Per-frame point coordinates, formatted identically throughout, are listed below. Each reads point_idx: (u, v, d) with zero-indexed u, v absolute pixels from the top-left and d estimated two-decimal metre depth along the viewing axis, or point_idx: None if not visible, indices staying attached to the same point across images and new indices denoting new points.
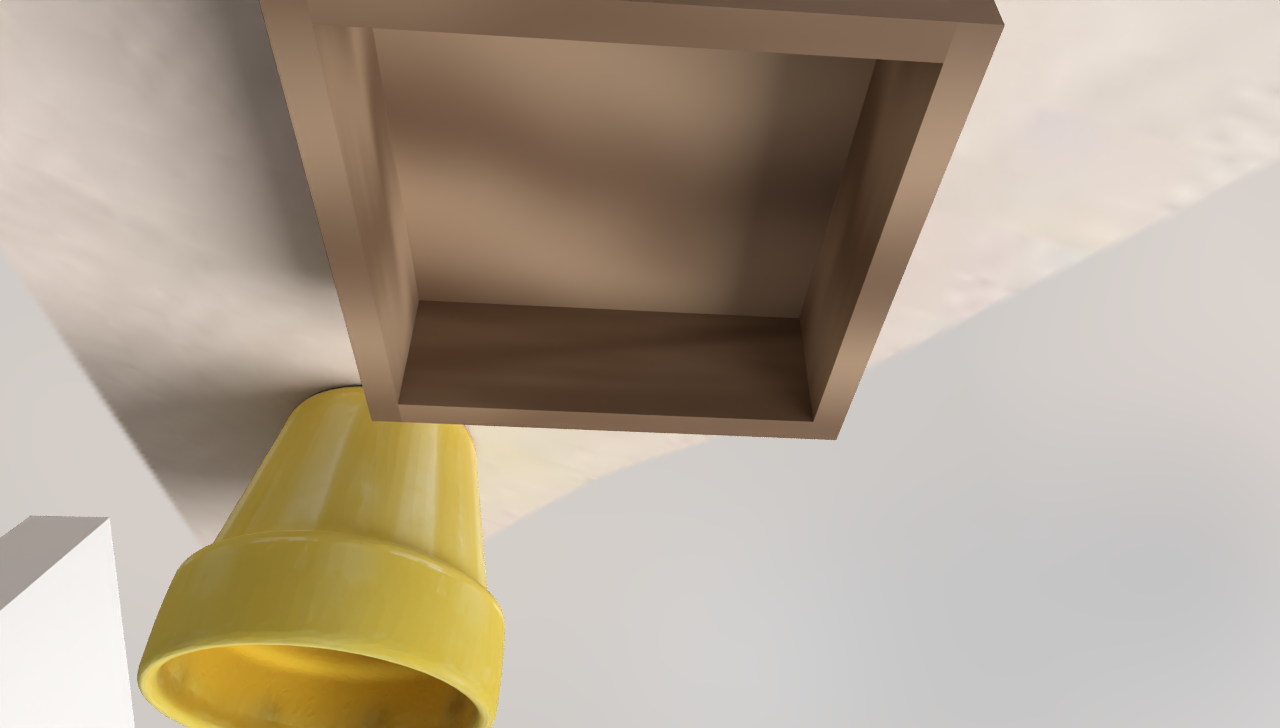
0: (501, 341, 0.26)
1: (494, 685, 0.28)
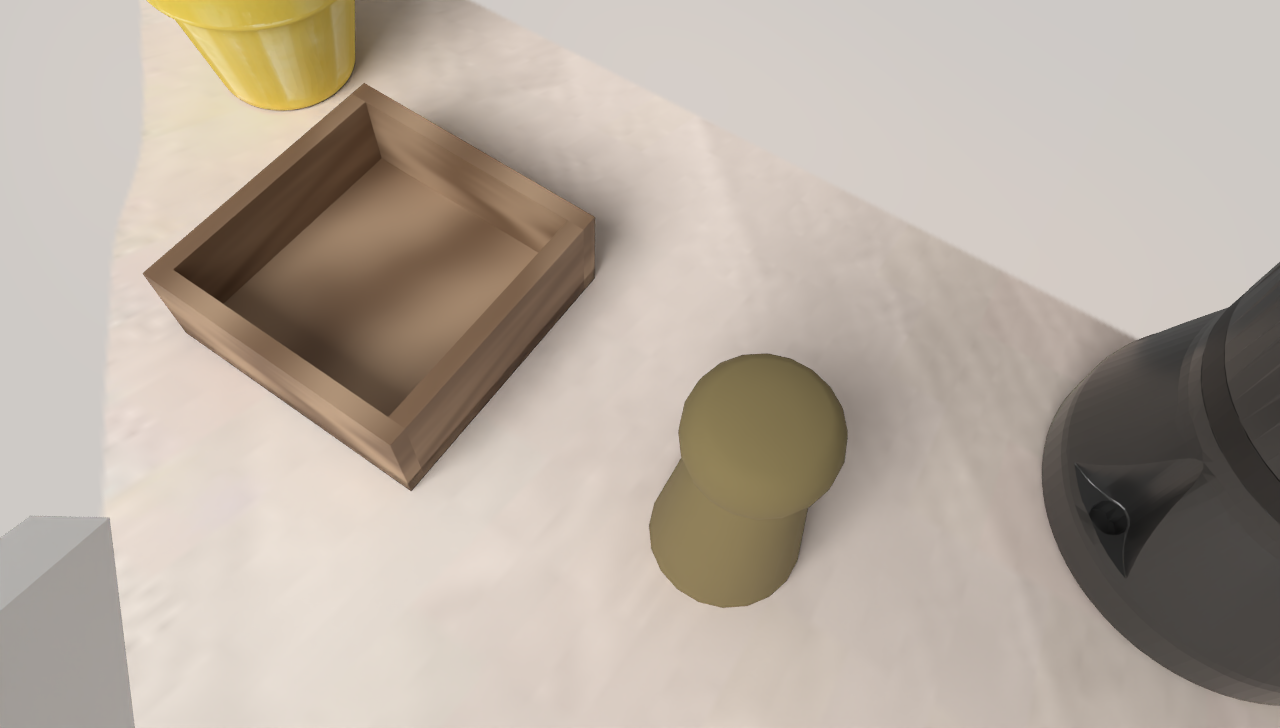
0: (338, 171, 0.42)
1: None
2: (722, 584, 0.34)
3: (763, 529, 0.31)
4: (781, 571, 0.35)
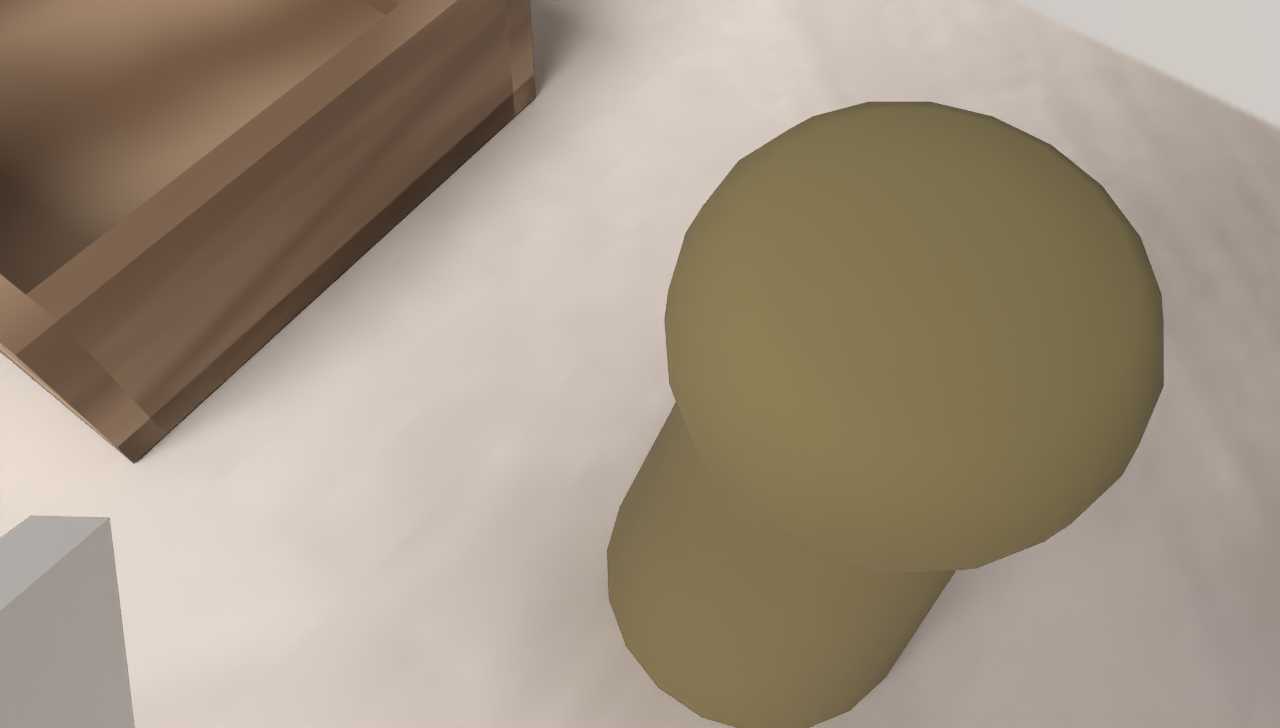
0: None
1: None
2: (756, 694, 0.15)
3: (879, 591, 0.12)
4: (885, 666, 0.16)
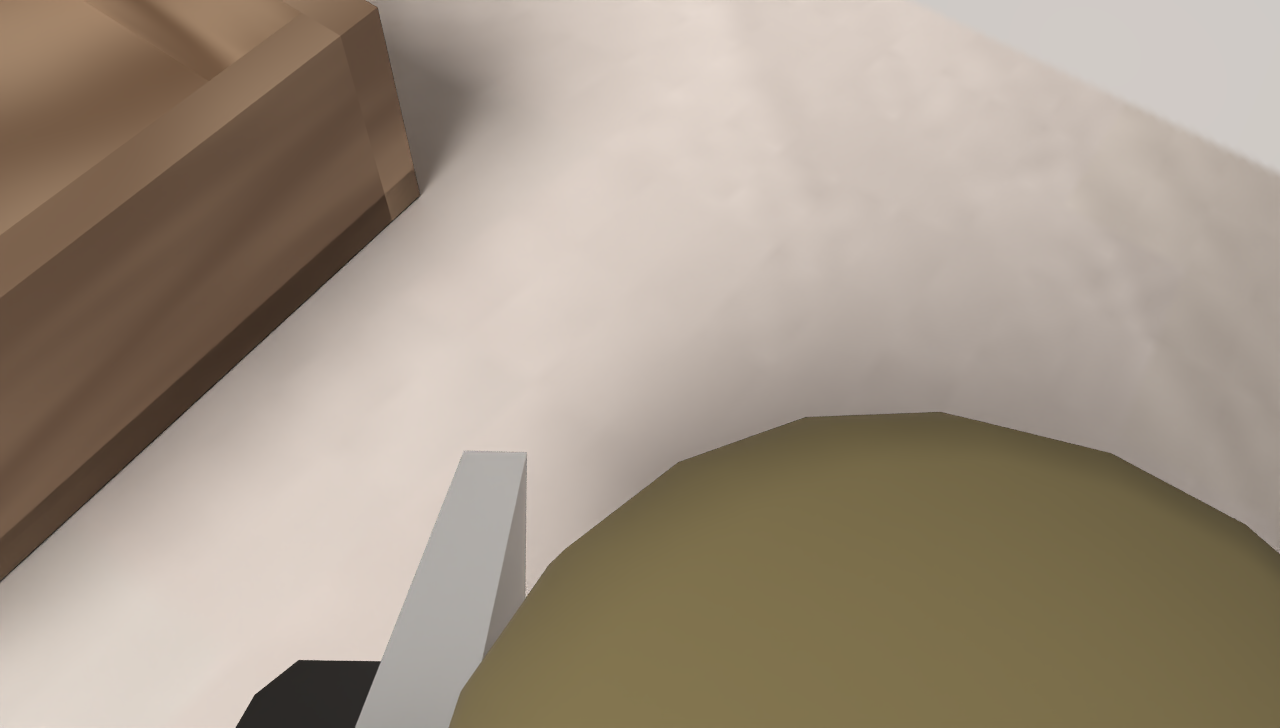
0: None
1: None
2: None
3: None
4: None
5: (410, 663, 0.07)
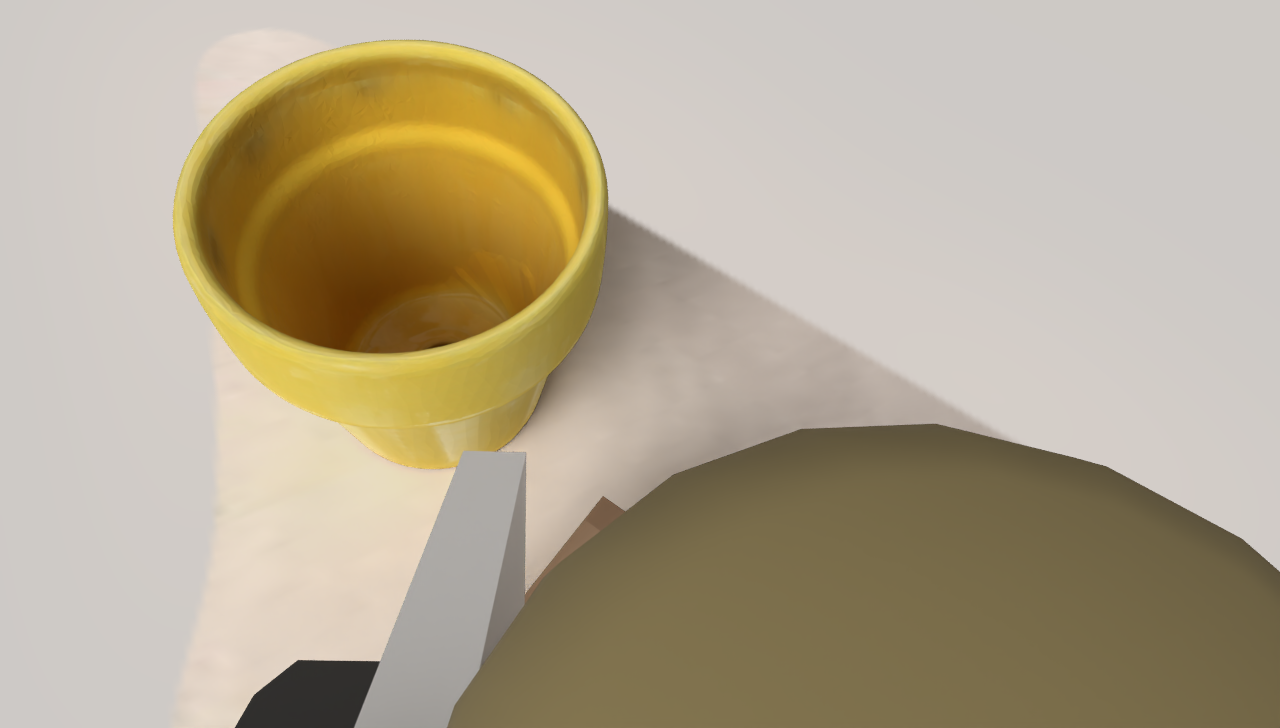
0: None
1: (267, 359, 0.21)
2: None
3: None
4: None
5: (410, 662, 0.07)
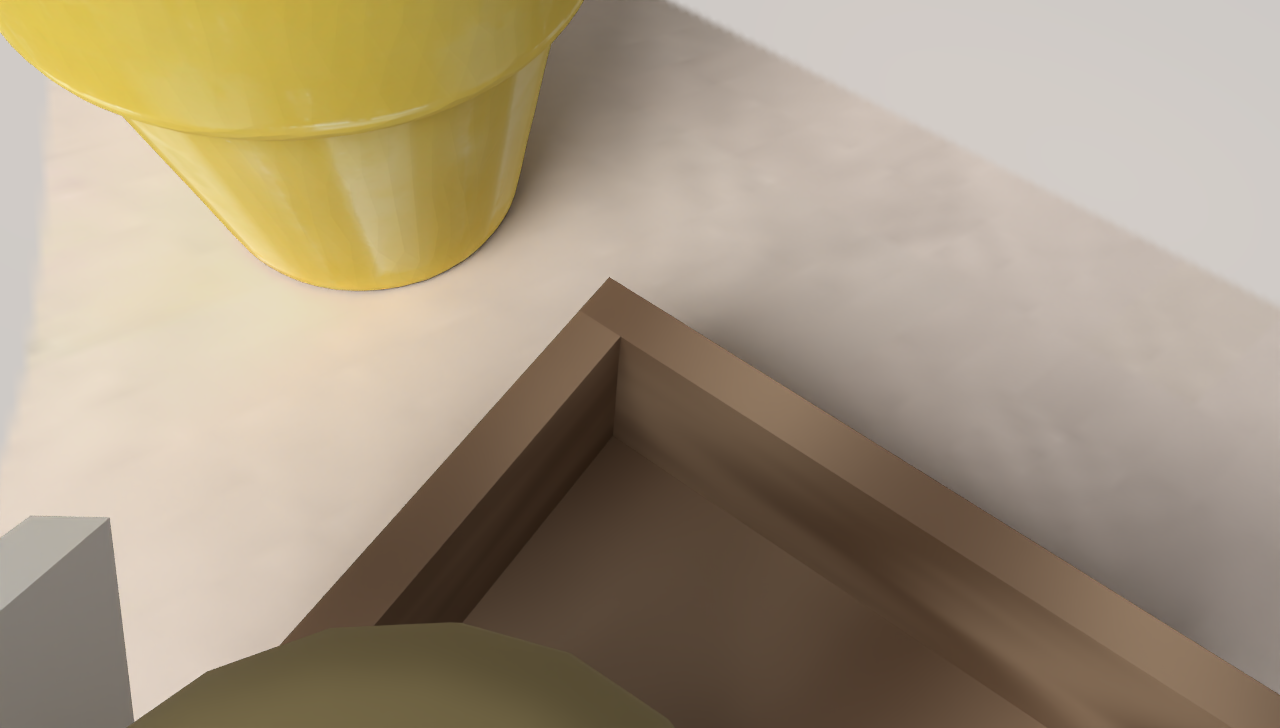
0: (528, 508, 0.16)
1: None
2: None
3: None
4: None
5: None
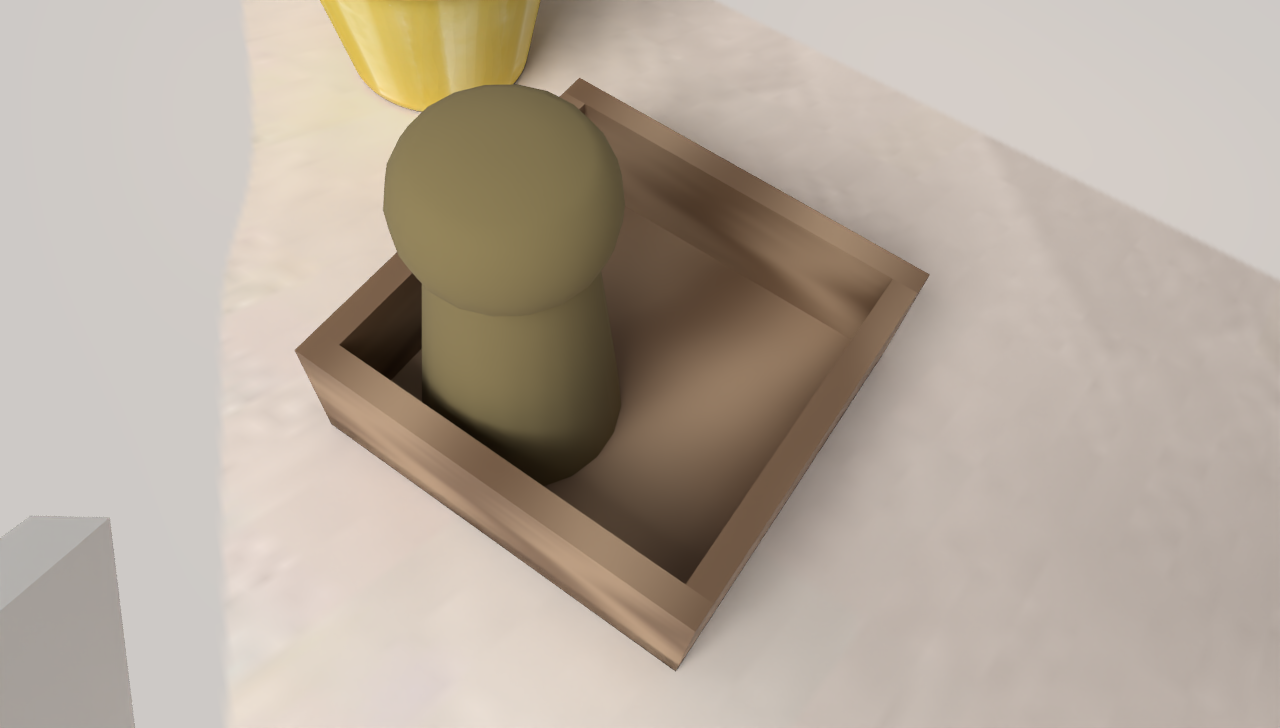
0: None
1: None
2: (496, 448, 0.26)
3: (521, 348, 0.22)
4: (580, 435, 0.26)
5: None
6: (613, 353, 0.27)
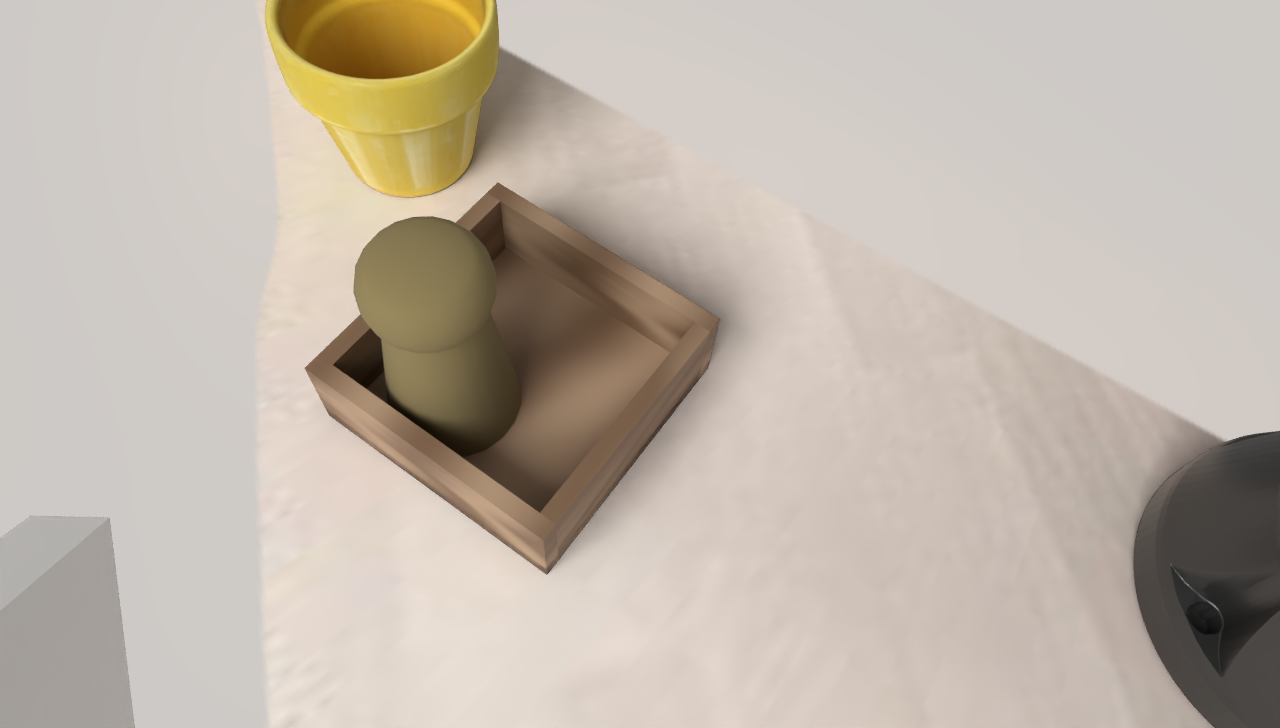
0: None
1: (316, 85, 0.41)
2: (432, 431, 0.40)
3: (439, 370, 0.36)
4: (487, 423, 0.41)
5: None
6: (509, 370, 0.41)
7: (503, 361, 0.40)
